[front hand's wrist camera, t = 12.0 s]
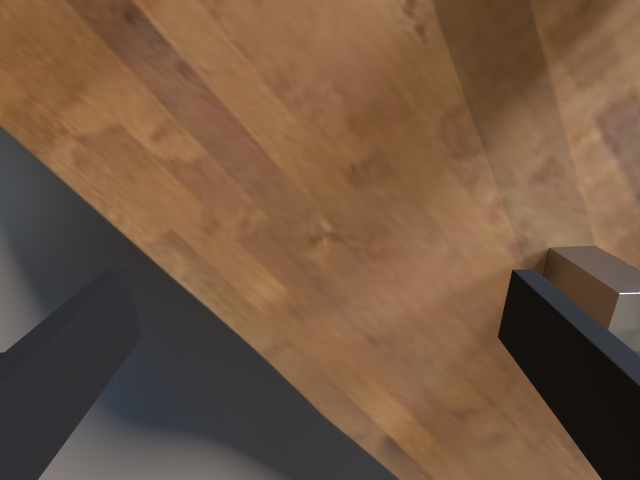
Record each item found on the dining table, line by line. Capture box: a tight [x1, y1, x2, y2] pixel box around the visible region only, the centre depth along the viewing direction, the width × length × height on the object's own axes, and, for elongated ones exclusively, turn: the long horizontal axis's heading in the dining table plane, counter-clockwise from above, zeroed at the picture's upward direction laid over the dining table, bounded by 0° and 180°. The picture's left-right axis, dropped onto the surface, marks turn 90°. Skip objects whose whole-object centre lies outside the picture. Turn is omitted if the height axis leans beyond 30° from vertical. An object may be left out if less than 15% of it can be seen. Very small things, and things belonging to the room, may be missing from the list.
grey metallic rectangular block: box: [543, 246, 640, 351], centre depth 42 cm, size 6×8×12 cm
